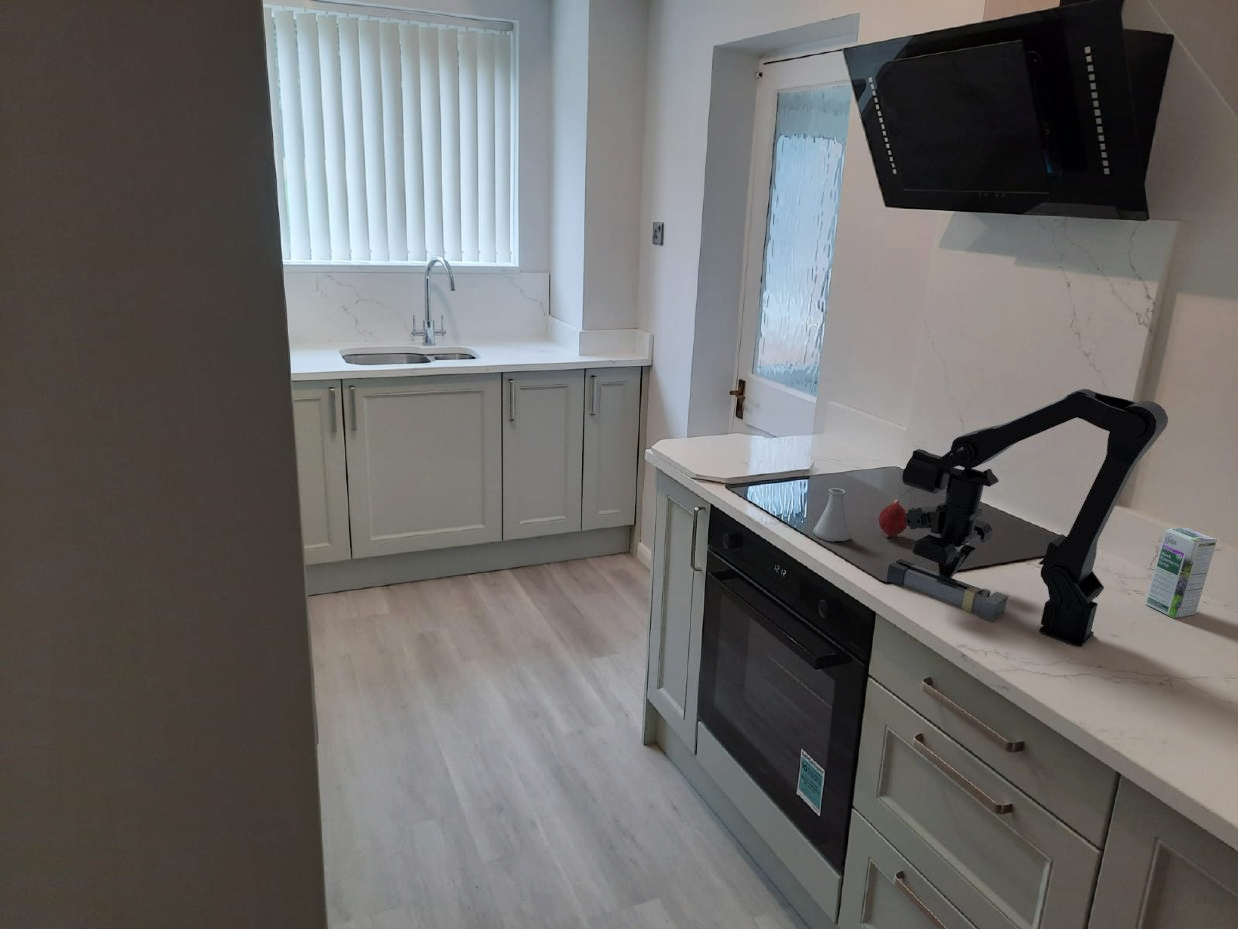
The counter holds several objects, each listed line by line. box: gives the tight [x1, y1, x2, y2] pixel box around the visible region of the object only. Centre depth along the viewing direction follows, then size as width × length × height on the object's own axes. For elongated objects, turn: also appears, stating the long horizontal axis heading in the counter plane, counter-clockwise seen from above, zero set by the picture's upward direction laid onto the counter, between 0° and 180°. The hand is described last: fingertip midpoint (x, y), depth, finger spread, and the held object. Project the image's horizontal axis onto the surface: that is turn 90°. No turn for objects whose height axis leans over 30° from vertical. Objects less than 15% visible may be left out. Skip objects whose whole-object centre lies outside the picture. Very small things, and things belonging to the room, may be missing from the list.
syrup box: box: [1145, 527, 1218, 619], centre depth 147 cm, size 6×6×14 cm
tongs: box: [885, 562, 1009, 623], centre depth 149 cm, size 20×5×4 cm, turn 45°
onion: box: [878, 499, 908, 538], centre depth 175 cm, size 6×6×8 cm
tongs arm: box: [895, 558, 992, 597], centre depth 151 cm, size 17×2×3 cm, turn 43°
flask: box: [812, 487, 851, 542], centre depth 174 cm, size 7×7×10 cm
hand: (944, 582), depth 152 cm, fingers closed
